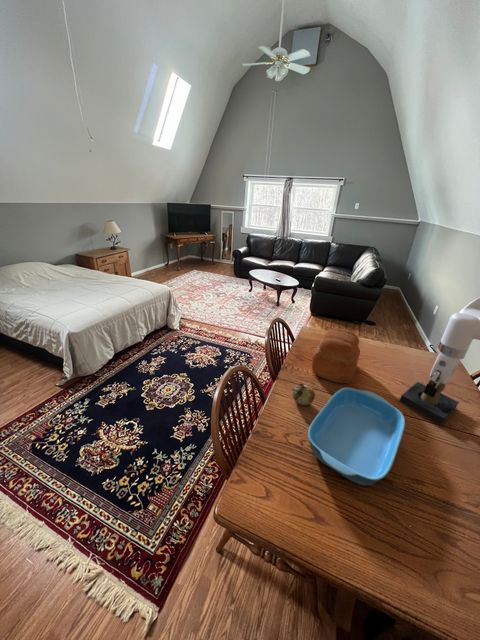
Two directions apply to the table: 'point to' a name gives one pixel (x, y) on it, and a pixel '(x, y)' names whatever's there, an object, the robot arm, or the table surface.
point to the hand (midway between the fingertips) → (434, 389)
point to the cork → (434, 399)
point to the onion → (303, 394)
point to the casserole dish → (357, 435)
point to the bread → (336, 356)
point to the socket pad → (430, 411)
